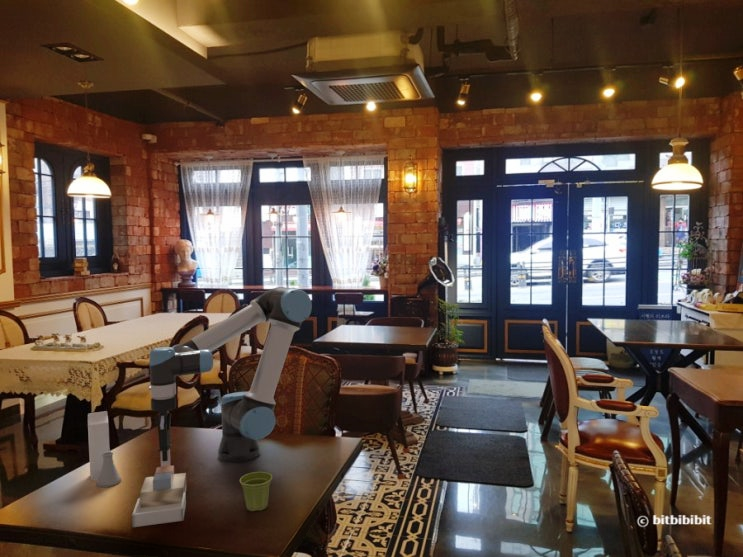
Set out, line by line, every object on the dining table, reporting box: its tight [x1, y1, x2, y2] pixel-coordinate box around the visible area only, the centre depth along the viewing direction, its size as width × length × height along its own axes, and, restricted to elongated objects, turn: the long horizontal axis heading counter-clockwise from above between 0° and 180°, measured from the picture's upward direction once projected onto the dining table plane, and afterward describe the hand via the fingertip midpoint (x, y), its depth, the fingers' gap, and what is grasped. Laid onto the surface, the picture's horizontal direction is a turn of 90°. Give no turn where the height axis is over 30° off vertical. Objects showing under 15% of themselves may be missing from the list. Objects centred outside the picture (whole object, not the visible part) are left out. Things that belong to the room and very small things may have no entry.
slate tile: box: [153, 472, 173, 490], centre depth 167 cm, size 5×5×3 cm
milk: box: [87, 410, 111, 482], centre depth 188 cm, size 6×6×22 cm
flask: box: [95, 451, 122, 488], centre depth 182 cm, size 7×7×10 cm
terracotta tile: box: [154, 465, 175, 479], centre depth 173 cm, size 5×5×3 cm
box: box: [131, 491, 187, 528], centre depth 159 cm, size 13×11×4 cm
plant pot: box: [239, 471, 273, 512], centre depth 163 cm, size 9×9×9 cm
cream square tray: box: [139, 472, 187, 508], centre depth 170 cm, size 12×12×5 cm
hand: (165, 469), depth 178 cm, fingers closed
